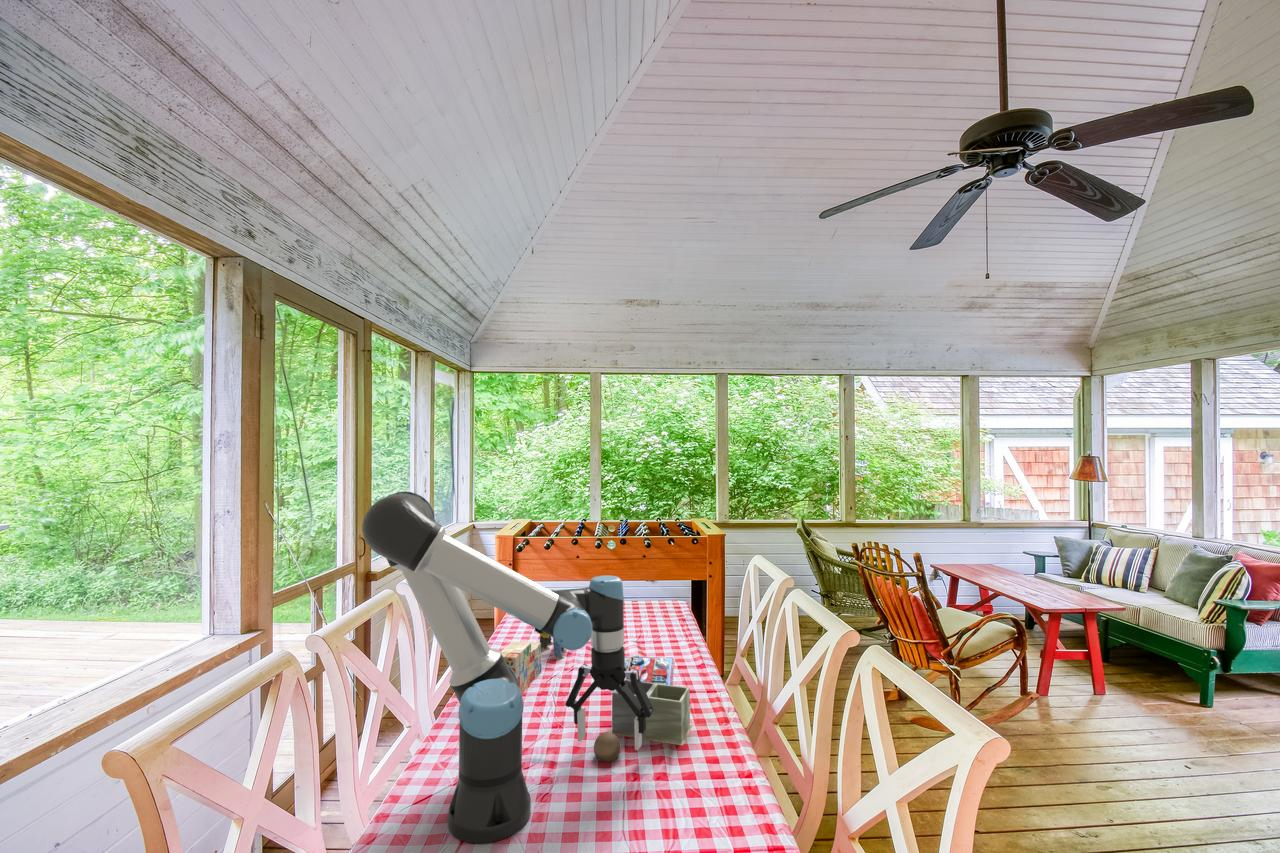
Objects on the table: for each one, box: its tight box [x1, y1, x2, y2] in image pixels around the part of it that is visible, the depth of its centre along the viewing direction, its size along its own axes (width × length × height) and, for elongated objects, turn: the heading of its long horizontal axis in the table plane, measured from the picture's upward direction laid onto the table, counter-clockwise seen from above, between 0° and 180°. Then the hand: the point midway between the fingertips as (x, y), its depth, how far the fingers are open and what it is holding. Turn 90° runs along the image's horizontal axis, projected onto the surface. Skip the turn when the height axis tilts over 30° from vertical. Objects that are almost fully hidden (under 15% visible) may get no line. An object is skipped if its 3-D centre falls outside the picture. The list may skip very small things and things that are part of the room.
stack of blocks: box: [500, 641, 542, 694], centre depth 169 cm, size 21×6×12 cm, turn 170°
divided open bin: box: [609, 679, 693, 747], centre depth 140 cm, size 10×18×10 cm, turn 72°
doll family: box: [531, 627, 568, 660], centre depth 198 cm, size 23×9×13 cm, turn 42°
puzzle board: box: [625, 654, 675, 685], centre depth 174 cm, size 30×23×3 cm
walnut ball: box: [593, 731, 622, 763], centre depth 127 cm, size 6×6×6 cm
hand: (609, 742), depth 127 cm, fingers open, 13 cm apart
